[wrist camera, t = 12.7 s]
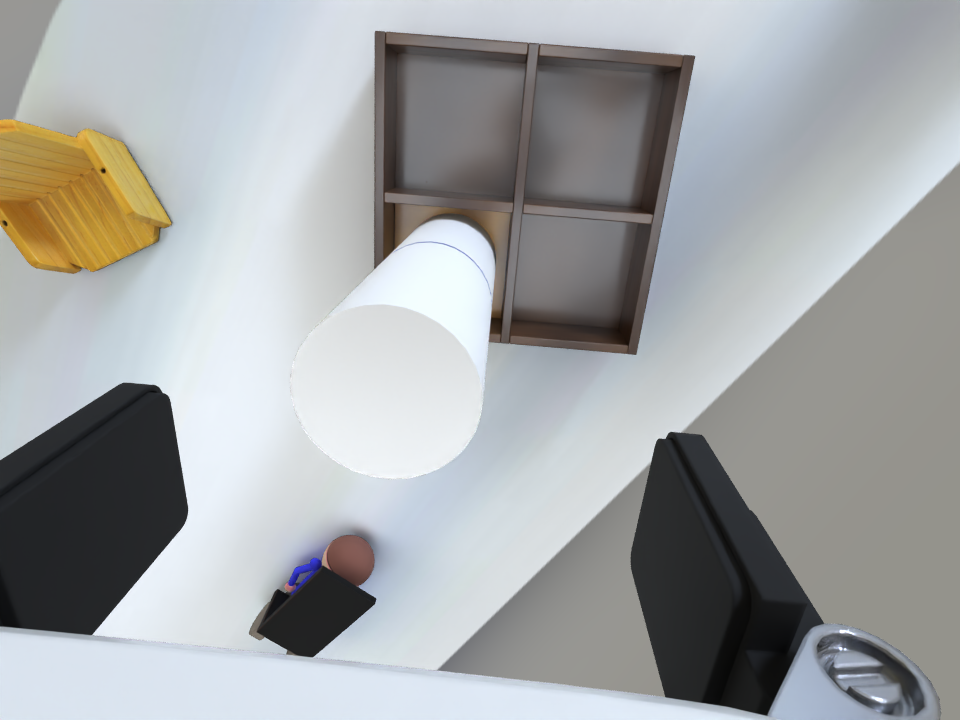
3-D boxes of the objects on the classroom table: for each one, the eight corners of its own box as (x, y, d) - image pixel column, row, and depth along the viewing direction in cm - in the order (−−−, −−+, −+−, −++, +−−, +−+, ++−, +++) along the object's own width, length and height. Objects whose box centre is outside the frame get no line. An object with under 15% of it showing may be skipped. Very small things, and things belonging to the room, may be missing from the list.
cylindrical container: (511, 236, 42) (515, 354, 19) (474, 316, 45) (438, 504, 22) (426, 197, 42) (324, 270, 18) (393, 281, 44) (267, 437, 21)
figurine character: (320, 616, 61) (396, 548, 55) (291, 681, 55) (374, 613, 48) (270, 584, 60) (342, 511, 54) (234, 647, 53) (312, 573, 47)
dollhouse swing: (78, 279, 46) (-19, 311, 38) (2, 170, 43) (-123, 178, 35) (179, 231, 44) (100, 254, 36) (107, 113, 41) (2, 106, 33)
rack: (674, 64, 38) (695, 55, 34) (624, 334, 46) (636, 355, 42) (389, 42, 39) (374, 30, 34) (386, 314, 46) (373, 332, 42)
